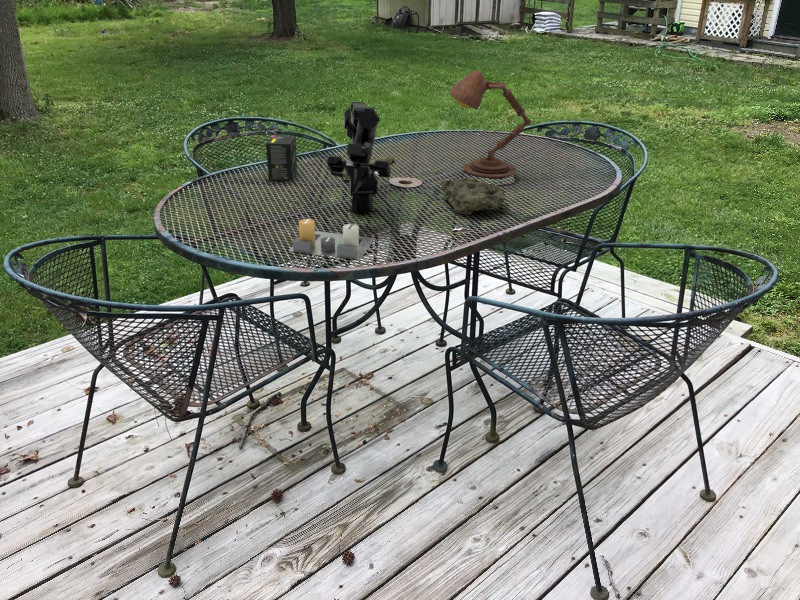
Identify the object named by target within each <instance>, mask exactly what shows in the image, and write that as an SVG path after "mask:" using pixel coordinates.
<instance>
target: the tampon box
mask: <svg viewBox="0 0 800 600" xmlns="http://www.w3.org/2000/svg"><path fill="white" fill-rule="evenodd" d="M265 148H266V149H265V150H266V160H267V161H266V162H267V163H266V164H267V171H268V172H267V174H268V182H282V181H292V182H291V183H293V182H294V181H293V180H295V179H294V178H296V177H297V175H298V159H297V156H298V155H297V136H294V135H271V137H270V138H269V139H268V140H267V141H266V142H265Z"/></svg>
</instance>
